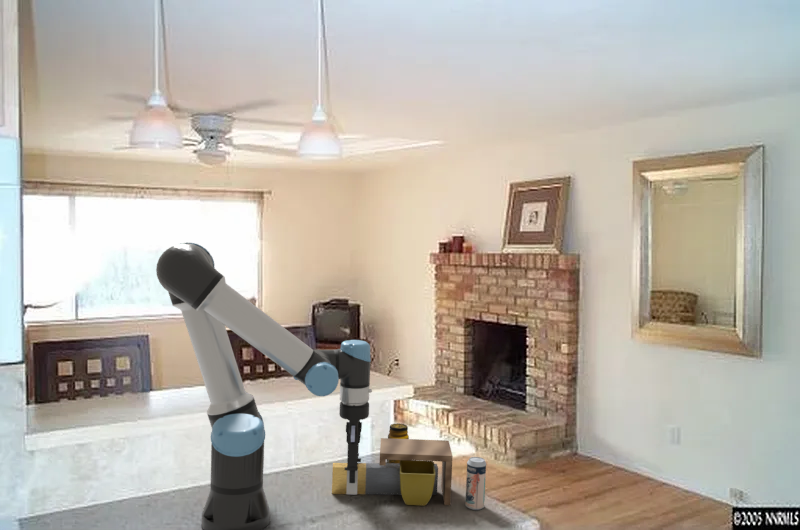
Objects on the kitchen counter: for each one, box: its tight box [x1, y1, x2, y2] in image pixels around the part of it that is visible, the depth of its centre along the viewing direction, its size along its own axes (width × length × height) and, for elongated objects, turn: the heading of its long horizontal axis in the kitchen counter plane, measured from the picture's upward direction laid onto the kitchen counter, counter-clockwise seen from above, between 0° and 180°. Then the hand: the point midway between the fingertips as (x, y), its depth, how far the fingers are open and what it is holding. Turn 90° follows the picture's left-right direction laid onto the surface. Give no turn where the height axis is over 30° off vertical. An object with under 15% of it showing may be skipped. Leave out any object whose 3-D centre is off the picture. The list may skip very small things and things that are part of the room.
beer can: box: [464, 456, 487, 511], centre depth 165 cm, size 5×5×12 cm
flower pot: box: [400, 460, 435, 507], centre depth 167 cm, size 9×9×9 cm
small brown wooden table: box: [378, 437, 453, 506], centre depth 171 cm, size 18×12×12 cm, turn 91°
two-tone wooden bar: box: [331, 462, 439, 496], centre depth 172 cm, size 27×3×7 cm, turn 94°
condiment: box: [386, 422, 410, 463], centre depth 191 cm, size 7×8×12 cm
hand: (352, 490), depth 172 cm, fingers closed on two-tone wooden bar, 3 cm apart
